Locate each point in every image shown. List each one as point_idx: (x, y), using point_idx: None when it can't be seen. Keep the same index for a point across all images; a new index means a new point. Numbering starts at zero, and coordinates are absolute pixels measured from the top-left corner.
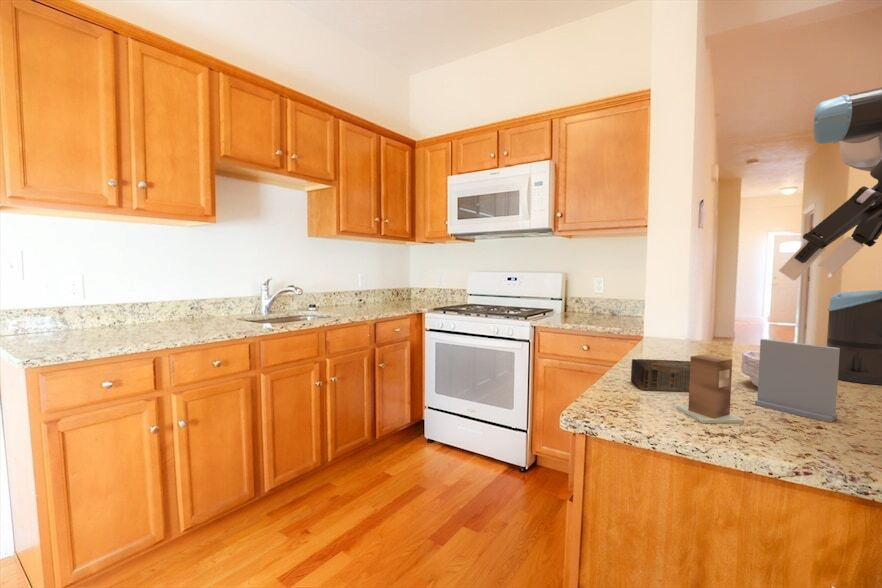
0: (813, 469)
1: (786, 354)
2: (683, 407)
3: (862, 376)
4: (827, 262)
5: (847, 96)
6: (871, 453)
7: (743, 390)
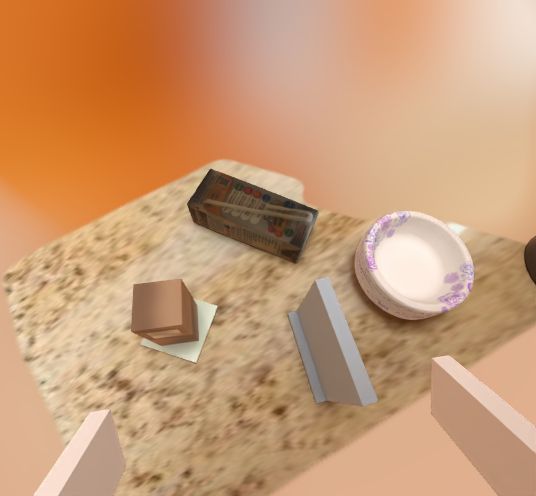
0: None
1: (325, 326)
2: None
3: None
4: (453, 398)
5: None
6: None
7: (334, 265)
